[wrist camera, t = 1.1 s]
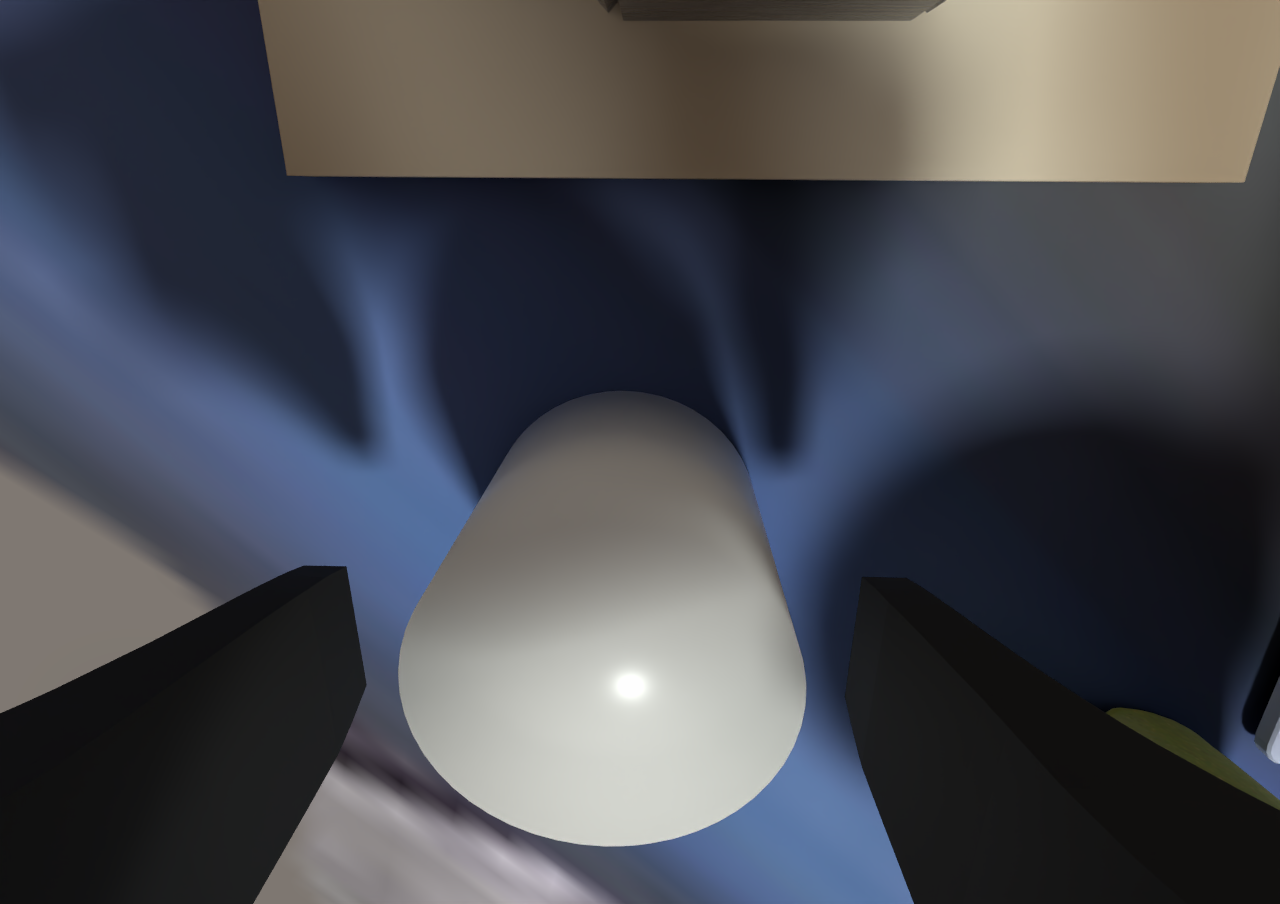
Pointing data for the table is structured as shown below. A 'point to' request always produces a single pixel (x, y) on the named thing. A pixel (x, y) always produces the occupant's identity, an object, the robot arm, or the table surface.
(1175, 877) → the robot arm
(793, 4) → the lens ring
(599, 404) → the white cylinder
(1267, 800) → the plant pot
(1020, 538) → the table surface
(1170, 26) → the mount plate
